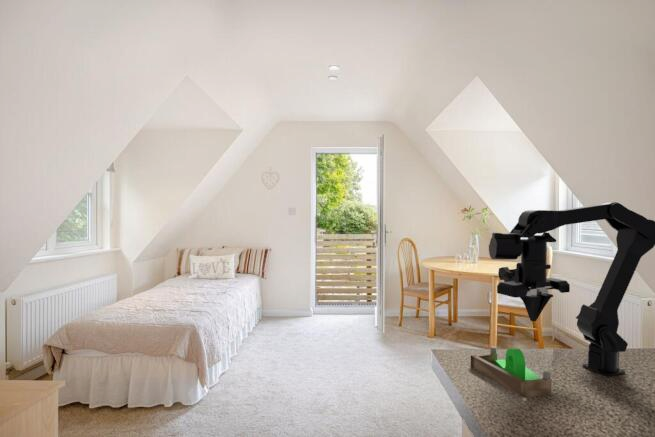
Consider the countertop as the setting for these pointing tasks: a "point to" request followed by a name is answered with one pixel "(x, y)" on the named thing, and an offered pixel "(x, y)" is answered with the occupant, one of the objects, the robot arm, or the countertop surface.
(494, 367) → the dock bracket
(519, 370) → the mechanical part
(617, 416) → the countertop surface
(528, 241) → the robot arm
